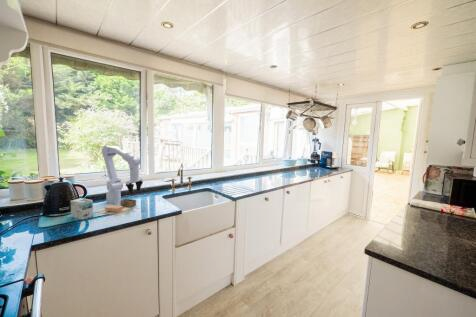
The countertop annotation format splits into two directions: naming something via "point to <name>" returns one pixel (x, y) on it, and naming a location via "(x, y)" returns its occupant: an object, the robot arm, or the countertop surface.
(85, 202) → the light bulb box
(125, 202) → the box
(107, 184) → the robot arm
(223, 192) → the countertop surface
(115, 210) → the salmon pink block
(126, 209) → the board
